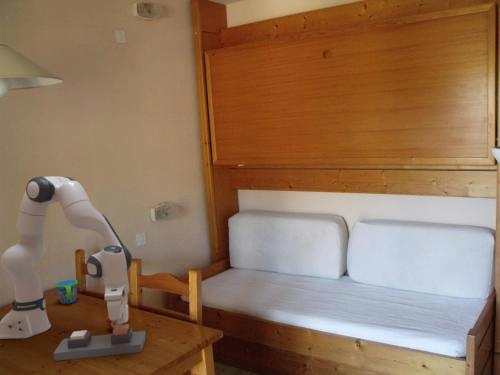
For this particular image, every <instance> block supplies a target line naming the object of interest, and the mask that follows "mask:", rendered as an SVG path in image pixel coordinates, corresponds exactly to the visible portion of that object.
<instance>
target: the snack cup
mask: <svg viewBox="0 0 500 375" xmlns="http://www.w3.org/2000/svg"><path fill="white" fill-rule="evenodd" d="M78 284H79V282H78V280H77V279H66V280H60V281H58V282H56V283H55V284H54V285H55V289H56V291H57V295H58V298H59V302H60V304H62V305H70V304H72V303H75V302H77V296H78V295H77V294H78Z"/></svg>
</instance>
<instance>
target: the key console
mask: <svg viewBox="0 0 500 375" xmlns="http://www.w3.org/2000/svg"><path fill="white" fill-rule="evenodd" d="M70 337H71V335H70V336H69V338H63V339H62V340H61V341H60V343H59V345H58V346H57V348H56V349H55V350H54V352H53V360H54V362H57V361H58V362H60V361H67V360H69V361H70V360H79V359H88V358H96V357H109V356H118V355H127V354H136V353H137V354H139V353H142V352H143V348H144V345H145V341H146V339H145V338H147V337H146V331H145V330H140V331H133V327H129V332H128V334H127V335H117V336H114V335H113V331H112V333H110V334H109V333H108V334H101V335H100V334H99V335H92V334H91V331H87V336H86V338H85V339H76V340H71V338H70Z"/></svg>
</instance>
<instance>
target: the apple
mask: <svg viewBox="0 0 500 375" xmlns="http://www.w3.org/2000/svg"><path fill="white" fill-rule="evenodd" d="M105 319H106V324H107V326H108V327H109V328H110V329H111V330H113V329H114V327H115V325H122V324H118V323H117V320H114V321H111V320H110V318H109V314H107V316H106V318H105Z"/></svg>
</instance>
